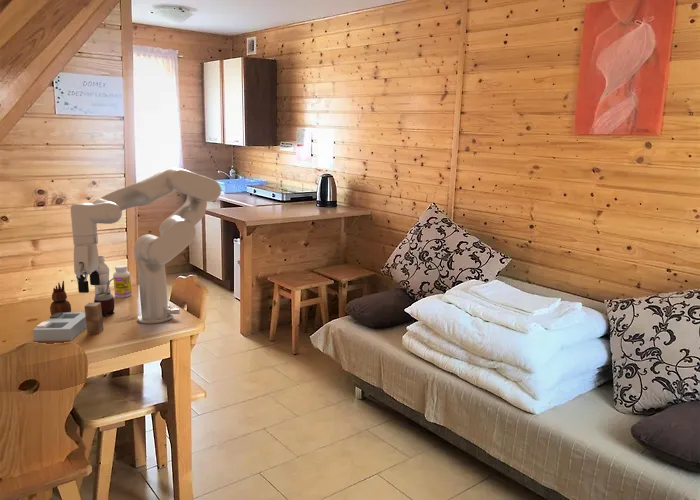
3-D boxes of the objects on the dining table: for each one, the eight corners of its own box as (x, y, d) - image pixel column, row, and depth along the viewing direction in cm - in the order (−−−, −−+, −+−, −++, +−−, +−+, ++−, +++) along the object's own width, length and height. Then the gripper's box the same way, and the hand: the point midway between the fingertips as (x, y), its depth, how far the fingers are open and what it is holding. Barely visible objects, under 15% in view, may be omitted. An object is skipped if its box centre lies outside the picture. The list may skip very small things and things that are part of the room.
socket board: (92, 322, 208) (90, 310, 207) (71, 340, 191) (69, 327, 190) (58, 323, 208) (57, 311, 207) (34, 341, 190) (32, 328, 189)
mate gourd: (95, 312, 219) (92, 275, 216) (117, 310, 222) (114, 273, 219) (94, 318, 212) (90, 279, 209) (117, 316, 215) (114, 277, 212)
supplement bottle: (113, 298, 237) (111, 268, 235) (116, 294, 244) (113, 264, 241) (130, 297, 239) (128, 267, 236) (132, 293, 245) (130, 264, 243)
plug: (103, 329, 201) (100, 302, 199) (99, 333, 197) (96, 306, 195) (91, 329, 200) (89, 302, 198) (87, 333, 197) (84, 306, 194)
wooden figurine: (74, 317, 213) (70, 279, 210) (68, 322, 208) (63, 283, 205) (56, 318, 213) (51, 279, 210) (49, 323, 207) (44, 283, 204)
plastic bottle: (108, 308, 224) (104, 258, 220) (91, 308, 224) (86, 258, 220) (115, 303, 231) (111, 255, 226) (99, 303, 231) (94, 255, 227)
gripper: (84, 235, 200) (88, 282, 203) (62, 244, 183) (67, 295, 186) (106, 235, 200) (110, 282, 204) (86, 244, 183) (90, 295, 187)
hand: (89, 288), depth 195 cm, fingers open, 9 cm apart
